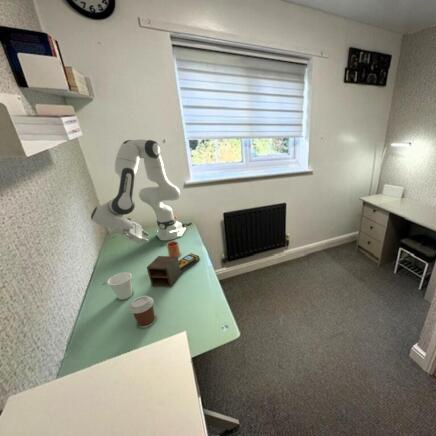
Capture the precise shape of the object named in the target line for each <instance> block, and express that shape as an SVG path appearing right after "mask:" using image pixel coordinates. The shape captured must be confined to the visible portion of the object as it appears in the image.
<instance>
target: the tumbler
mask: <svg viewBox="0 0 436 436" xmlns="http://www.w3.org/2000/svg"><path fill="white" fill-rule="evenodd" d="M166 249H167V252H168V256H170V257H178V258H179V257H181V250H180V246H179V241H170V242H168V243H167V244H166Z"/></svg>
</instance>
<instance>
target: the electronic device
mask: <svg viewBox="0 0 436 436" xmlns="http://www.w3.org/2000/svg"><path fill="white" fill-rule="evenodd" d="M178 261H179V266H180V271H181V272H183V271H184V270H186V269H187V268H189V267H191V266H192V265H193V264H195V263H196V262H198V261H200V256H199V255H198V254H194V253H191V252H190V253H189V254H187V255H185V256H184V257H182V258H180V259H178Z"/></svg>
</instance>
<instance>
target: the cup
mask: <svg viewBox="0 0 436 436" xmlns="http://www.w3.org/2000/svg"><path fill="white" fill-rule="evenodd" d="M106 283H107V284H108V286H109V287H110V288H111V290H112V291H113V293H114V295H115V296H116V298H117V299H118V300H127V299H129V298H131V297H132V295H133V285H132V284H133V283H132V274H131V273H130V272H125V271H124V272H119V273H116V274H114V275H112V276H111V277H109V278H108V279H107V282H106Z"/></svg>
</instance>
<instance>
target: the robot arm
mask: <svg viewBox="0 0 436 436" xmlns="http://www.w3.org/2000/svg"><path fill="white" fill-rule="evenodd" d="M161 150H162V149H161V146H160V144H159V143H158V142H157V141H156V140H153V139H141V138H140V139H128V140H124V141H123V142H122V144H121V145H120V147H119V148H118V151H117V153H116V156H115V161H114V172H115V174H116V175H118V177H119V186H118V191H117V192H118V193H117V194H116V196H115V197H114V198H112V199H110V200H109V201H107V202H105V203H103V204H101V205H98V206H96V207H95V208H94V209H93V210H92V212H91V215H90V219H91V221H92V222H93V223H95V224H97V225H99V226H101V227H103V228H106V229H110V230H111V231H113V232H115V233H117V234H119V235H121V236H124V235H125V237H126V239H127V240H129V241H131V242H134V243H136V244H140V243H141V242H142V243H143V242H144V243H146V244H148V243H150V239H149V238H145V237H148V236H149V232H147V231H146V230H144V229H143V227H142V225H140V224H139V223H138V222H136V221H134V220H132V219H131V218H129V217H124V216H125V215H129V214H131V213H132V212H134V210H135V207H136V203H135V200H134V196H133V195H134V187H135V179H136V176H137V173H138V169H139V165H140V159H143V164H144V169H145V173H146V178H147V179H148V180H149V181H150V182H152V183H156V184H157V185H158V186H148V187H144V188H143V187H142V188H140V190H139V192H138V197H139V199H140V200H141V201H142V202H143V203H145V204H147V205H148V206H150V207H151V208H152V210H153V211H154V214H155V218H156V231H157V234H156V236H157V237H158V239H159V240H160V241H172V240H175V239H178V238H181V237H183V235H184V233H185V232H186V230H187V227H186V226H190V225H191V224H192V222H189V223H183V222H180V221H178V220H177V219H178V216H177V215H174V212H173V208H172V207H170V206H169V205H166V204H165V202H174V201H177V200H179V199H180V197H181V191H180V189H179V188H178V187H177V186H176V185H175V184H173V183H172V182H171V181H170V180H169V179H168V177H167V175H166V171H165V166H164V162H163V159H162V156H161ZM185 225H186V226H185ZM143 236H144V237H143Z"/></svg>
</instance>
